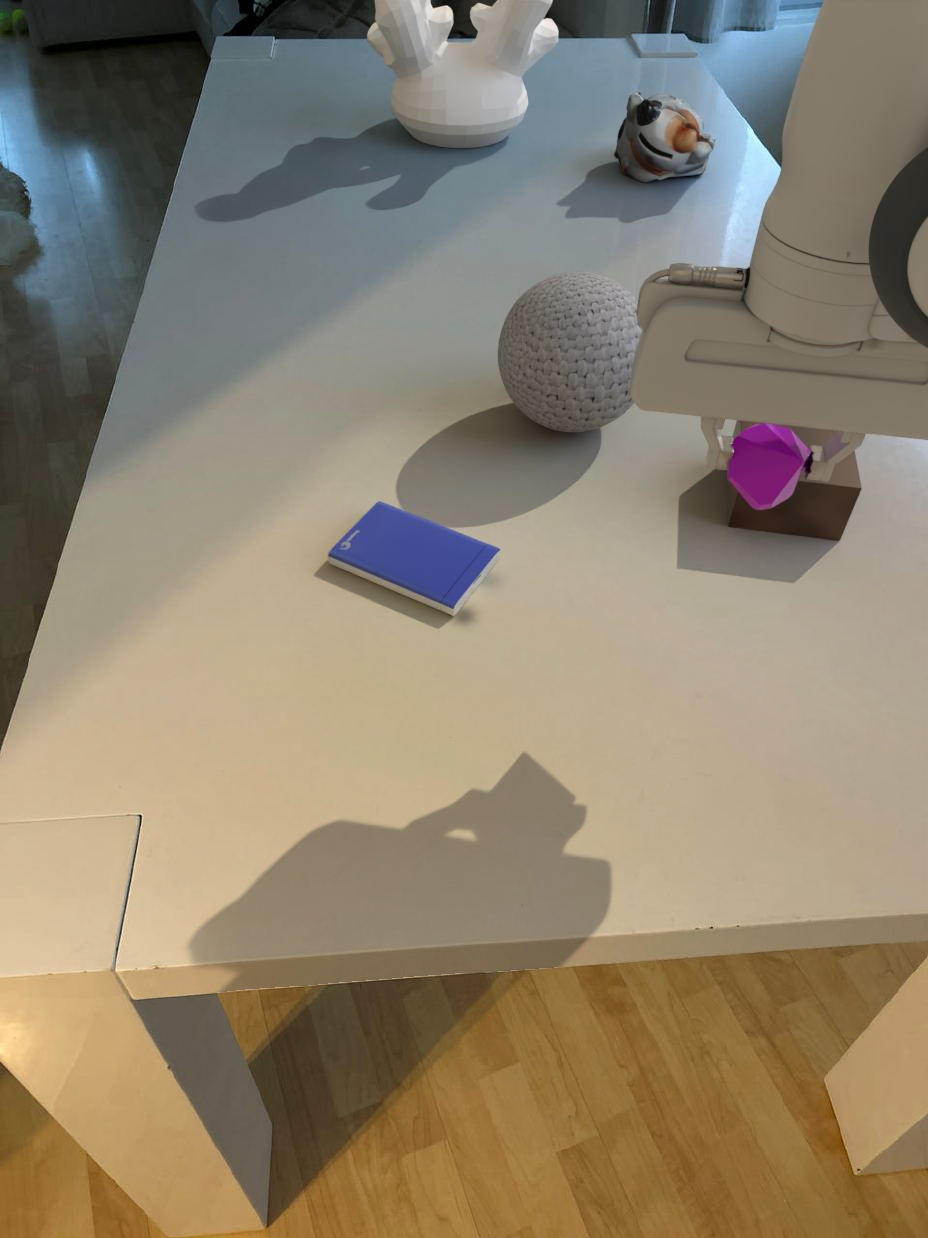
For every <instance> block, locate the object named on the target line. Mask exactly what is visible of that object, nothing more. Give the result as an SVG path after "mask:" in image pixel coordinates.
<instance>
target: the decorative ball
mask: <svg viewBox="0 0 928 1238" xmlns="http://www.w3.org/2000/svg"><path fill="white" fill-rule="evenodd" d="M637 305H638V299H637V298H636V297H635V296H634V295H633V294H632V293H631V292H630V291H629V290H628V289H627V288H626V287H624V286H623V285H621V284H620V283H618V282H617V281H616V280H614V279H611V278H610V277H607V276H604V275H602V274H598V273H594V272H590V271H567V272H562V273H558V274H554V275H552V276H549V277H546V278H544V279H542V280H540V281H538V282H537V283H535V284H534V285H532V286H531V287H530V288H528V289H527V290H526V291H524V292H523V293H522V294H521V296H519V297H518V299H517V300H516V301H515V302H514V303H513V305H512V306H511V308H510V310H509V311H508V313H507V315H506V317H505V319H504V322H503V324H502V326H501V330H500V334H499V338H498V345H497V364H498V365H497V366H498V371H499V376H500V378H501V382H502V384H503V387H504V389H505V391H506V393H507V395H508V396H509V397H510V400H511V401H512V402H513V404H514V405H515V406H516V407H517V408H518V409H519V410H520V411H521V412H522V414H523V415H525V416H526V417H527V418H529V419H530V420H532V421H533V422H535V423H536V424H538V425H541V426H542V427H545V428H547V429H550V430H554V431H558V432H563V433H581V432H588V431H593V430H596V429H597V430H598V429H600V428H602V427H605V426H606V425H608V424H611V423H612V422H614V421H616V420H617V419H619V418H621V416H623V415H624V414H625V413H627V411H628V410H629V409H631V407H632V406H633V405H634V404H635V402H634V401H633V399H632V398H631V396H630V378H631V370H632V365H633V360H634V356H635V352H636V348H637V344H638V341H639V338H640V334H641V331H642V328H641V327H640V325H639V323H638V320H637V316H636V311H637Z"/></svg>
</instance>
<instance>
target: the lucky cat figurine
mask: <svg viewBox="0 0 928 1238" xmlns="http://www.w3.org/2000/svg"><path fill="white" fill-rule="evenodd" d="M628 96H629V97H628V99H627V103H626V115H625V117H624V119H623V121H622V123H621V125H620V126H619V129H618V132H617V139H616V147H615V151H614V153H613V156H614V158H615V159H617V161H618V164H619V167H620V172H621V173H623V174H625V175H627V176H629V177H631V178H633V179H635V180H637V181H639V182H642V183H644V184H645V183H646V184H647V183H649V182H651V181H654V180H658V181H662V180H664V179H667V178H673V177H674V178H675V177H686V176H695V175H697V176H698V175H704V173H705V171H706V167H707V164H708V162H709V158H710V154H711V153H712V152H713V150H714V148H715V143H716V139H713V137H712V135H711V134H706V133H704V129H705V122H704V120H703V118H702V117H701V115H700V113H699V112H698V111H697V110H696V109H695V108H693V107H691V106H690V104H689V103H688V102H687V101H686V100H684V99H683V98H680V97H679V98H678V97H677V96H676V95H675V96H674V95H673V94H669V93H668V94H665V93H658V94H653V95H651V96H649V97H648V98H644V96H642V93H641V92H640V91H635V92H633V93H632V94H631V95H628ZM699 172H700V173H699Z"/></svg>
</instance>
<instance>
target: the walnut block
mask: <svg viewBox="0 0 928 1238" xmlns="http://www.w3.org/2000/svg"><path fill="white" fill-rule="evenodd" d="M756 424H764V423H759V422H750V421H740V420H736V422H735V426H734V429H733V433H732V436H731V437H733V440H734V439H735V438H736V437H737V436H738V435H739V434H741V433H742V432H743V431H744V430H746V429H748V428H750V427H752V426H754V425H756ZM766 424H769V423H766ZM773 425H777V426H781V427H785V428H789V429H791V430H792V431H793V433H794V434H795V435H796V436H797V437H798V438H799V439H800V440H801V441H802V443H803V444H804V445H805V446H806V447H807V448H808V449H809V448H810V445H816V446H823V445H824V444H825V443H826V442H827V441H828V440H830V439H831V438H832V437H833V436H834V435H835V434H836V433H837V432H838V431H836V430H826V429H817V428H807V427H798V426H788V425H778V424H773ZM805 474H806V473H805V472H804V469H803V472H802V474H801V476H800V478H799V481H798V483H797V485H796V487H795V490H794V492H793V494H792V495H791V496H790V497H789V498H788V499H786V500H784V501H783V502H781V503H779V504H778V505H776V506H774V507H772V508H770V509H765V510H756V509H754V508H752V507H751V506H750V505H749V503H748V502H747V501H746V500H745V499H744V497H743V496H742V495H741V494H740V493H739V491H738V490H737V489H736V488H735V487H734V485H733V484H732V483H731V482H730V481H729V479H728V478H727V475H728V471H726V470H725V478H726V507H727V508H726V509H727V527H729V528H736V529H745V530H753V531H761V532H770V533H777V534H786V535H792V536H794V535H795V536H801V537H810V538H817V539H826V540H832V541H833V540H835V541H841V540H842V537H843V535H844V533H845V530H846V528H847V525H848V523H849V521H850V518H851V515H852V513H853V511H854V508H855V505H856V504H857V501H858V498H859V496H860V494H861V492H862V488H863V487H862V483H861V477H860V471H859V466H858V461H857V456H856V450H854V451H853V452H852V453H850V454H849V455H848V456H846V457H845V458H844V459H842V460H841V461H840V462H839V463H835V466H834V469H833V471H832V474H831V477H830V479H829V481H828V482H826V481H818V480H810V479H805Z"/></svg>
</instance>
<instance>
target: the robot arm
mask: <svg viewBox="0 0 928 1238" xmlns="http://www.w3.org/2000/svg"><path fill="white" fill-rule="evenodd" d="M785 116H786V117H785V121H784V125H783V129H782V136H781V149H782V151H781V152H782V156H781V157H782V159H781V167H780V171H779V175H778V177H777V180H776V183H775V185H774V187H773V189H772V191H771V193H770V194H769V196H768V198H767V200H766V201H765V204H764V206H763V209H762V213H761V216H760V220H759V225H758V228H757V233H756V237H755V241H754V245H753V249H752V253H751V258H750V261H749V266H748V267H747V268H744V267H731V266H700V265H699V266H698V265H694V264H693V263H688V262H687V263H686V262H676V263H671V264H670V265H669V268H665V269H660V270H657V271H655V272H654V273H652V274H650V275H649V276H648V277H647V278H646V279H645V280H644V281H643V283H642V284H641V287H640V289H639V293H638V299H637V301H638V305H637V311H636V316H637V320H638V323H639V325H640V327H641V328H642V331H641V334H640V338H639V341H638V344H637V348H636V352H635V356H634V360H633V365H632V370H631V378H630V396H631V398H632V399H633V401H634V402H635V403H634V404H635V405H636V407H637V408H638V409H640V410H641V411H646V412H655V413H664V414H674V415H684V416H693V417H700V430H701V432H702V434H703V436H704V439H705V441H706V443H707V446H708V447H707V451H706V469H708V470H709V469H710V470H717V471H725V472H726V471H728V469H729V463H730V460H731V459H732V458H733V455H734V447H733V446H732V445H733V437H732V436H729V435H724V434H723V435H722V432H721V431H722V430H723V428H724V425H725V421H726V420H732V421H737V420H740V421H750V422H759V423H769V424H778V425H788V426H798V427H807V428H817V429H826V430H836V431H838V432H837V433H836V434H835V435H834V436H833V437H832V438H831V439H830V440H828V441H827V442H826V443H825V444H824V445H823V446H816V445H810V448H809V450H810V451H811V454H810V456H809V458H808V460H807V462H806V465H805V467H804V472H805V473H806V474H805V479H810V480H818V481H826V482H828V481H829V479H830V477H831V474H832V471H833V469H834V466H835V463H839V462H840V461H841V460H842V459H844V458H845V457H846V456H848V455H849V454H850V453H852V452H853V451H854V450H855V451H856V450H857V449H858V448H860V447H861V446H862V444H863V442H864V440H865V438H866V435H874V436H875V435H876V436H884V437H885V436H886V437H894V438H895V437H896V438H905V439H912V440H913V439H914V440H923V441H928V0H823V2H822V4H821V7H820V9H819V11H818V14H817V16H816V19H815V22H814V25H813V28H812V31H811V33H810V36H809V39H808V42H807V45H806V48H805V51H804V54H803V57H802V60H801V63H800V67H799V70H798V73H797V77H796V79H795V84H794V87H793V91H792V95H791V98H790V102H789V105H788V109H787V112H786V115H785ZM665 277H667V278H665Z"/></svg>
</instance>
